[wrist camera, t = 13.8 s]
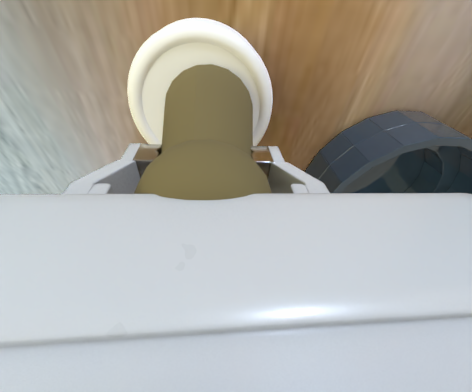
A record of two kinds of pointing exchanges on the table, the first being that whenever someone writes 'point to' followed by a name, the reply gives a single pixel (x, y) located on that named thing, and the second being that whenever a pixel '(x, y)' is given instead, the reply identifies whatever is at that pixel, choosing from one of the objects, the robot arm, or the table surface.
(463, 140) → the bowl
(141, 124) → the coaster
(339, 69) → the table surface
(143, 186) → the olive pawn
